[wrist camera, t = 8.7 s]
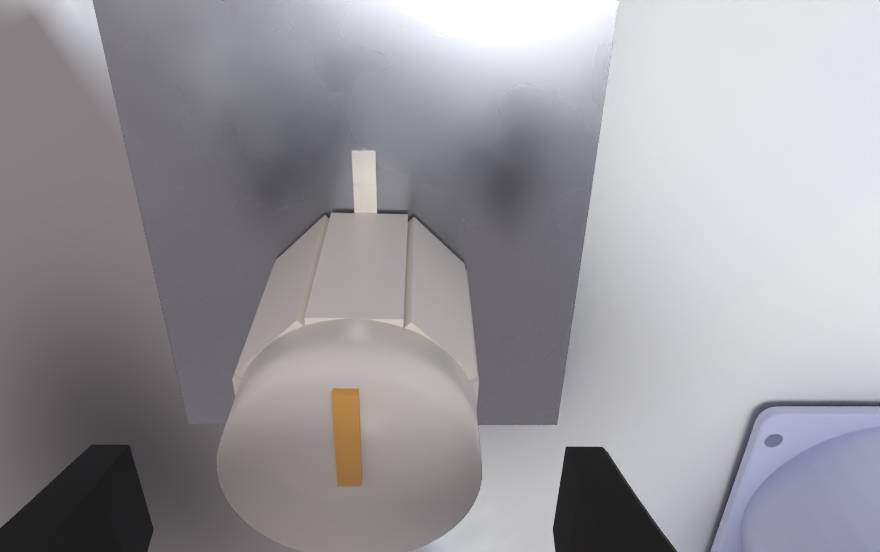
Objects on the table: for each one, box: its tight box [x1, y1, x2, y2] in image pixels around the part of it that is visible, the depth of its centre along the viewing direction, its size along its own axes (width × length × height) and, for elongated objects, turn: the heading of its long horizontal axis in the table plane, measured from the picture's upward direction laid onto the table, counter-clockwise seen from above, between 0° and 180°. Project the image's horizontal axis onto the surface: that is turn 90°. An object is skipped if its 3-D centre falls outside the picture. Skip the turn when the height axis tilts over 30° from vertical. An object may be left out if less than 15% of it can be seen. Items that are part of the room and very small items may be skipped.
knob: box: [216, 213, 482, 552], centre depth 14 cm, size 4×4×6 cm
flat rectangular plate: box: [93, 0, 619, 425], centre depth 13 cm, size 16×10×4 cm, turn 179°
